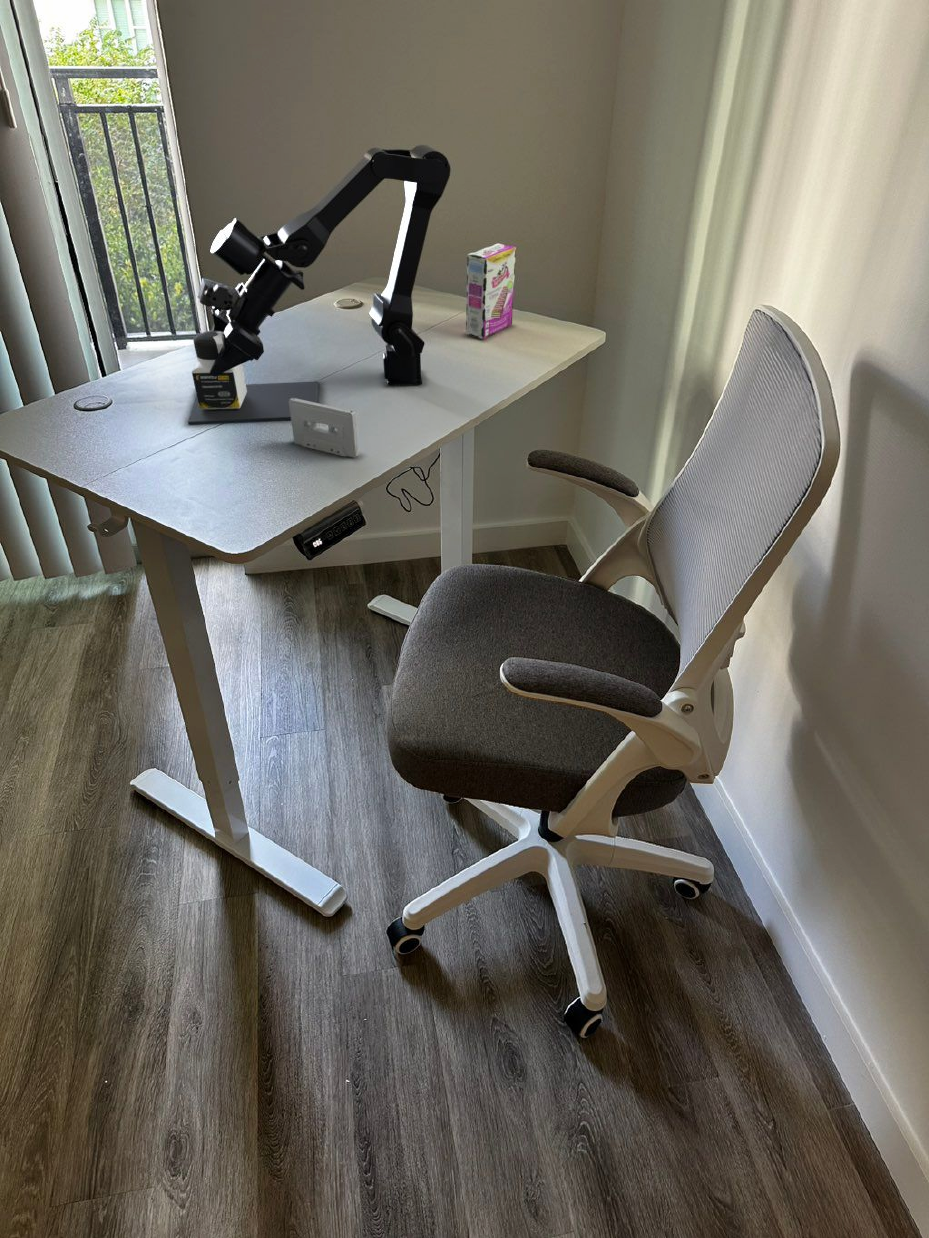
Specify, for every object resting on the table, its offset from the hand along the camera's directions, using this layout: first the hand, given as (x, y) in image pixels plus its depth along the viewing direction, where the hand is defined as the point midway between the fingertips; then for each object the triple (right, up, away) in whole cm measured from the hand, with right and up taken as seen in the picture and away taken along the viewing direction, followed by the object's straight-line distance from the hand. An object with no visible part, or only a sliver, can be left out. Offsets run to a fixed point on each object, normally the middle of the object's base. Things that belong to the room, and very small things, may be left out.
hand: (208, 365), depth 148 cm
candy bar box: (+50, +18, +35) cm, 63 cm away
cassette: (+22, -16, -8) cm, 28 cm away
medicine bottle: (+2, -5, +5) cm, 7 cm away
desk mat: (+7, -5, +6) cm, 10 cm away
